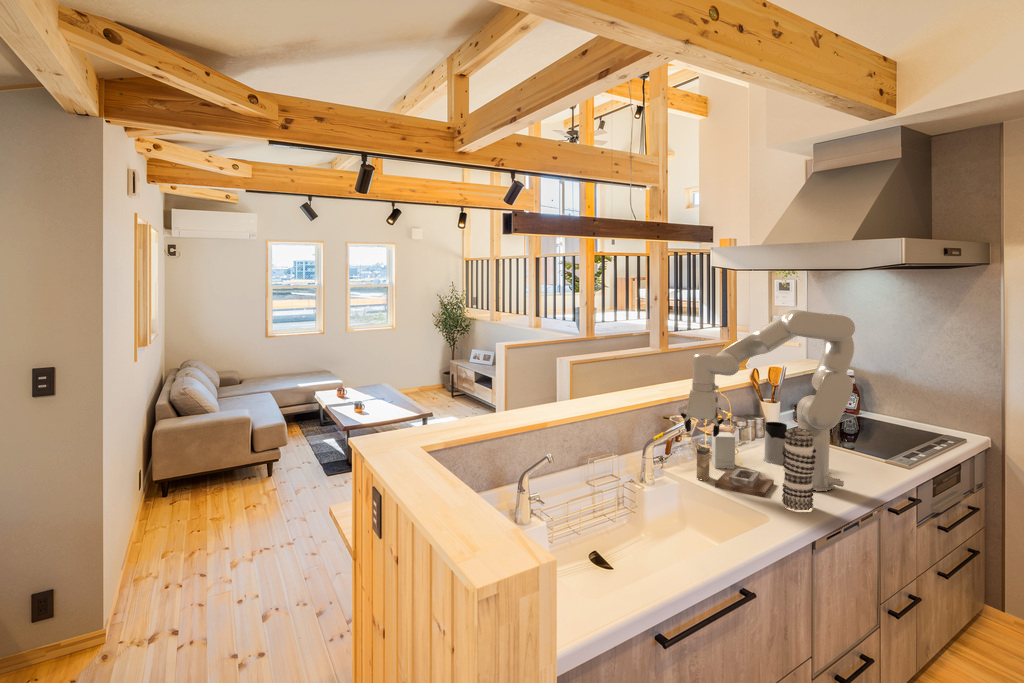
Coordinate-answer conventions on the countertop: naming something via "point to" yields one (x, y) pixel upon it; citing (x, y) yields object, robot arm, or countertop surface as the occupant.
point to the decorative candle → (798, 469)
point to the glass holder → (774, 442)
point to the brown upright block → (703, 463)
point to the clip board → (745, 482)
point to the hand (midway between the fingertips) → (701, 433)
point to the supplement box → (723, 450)
